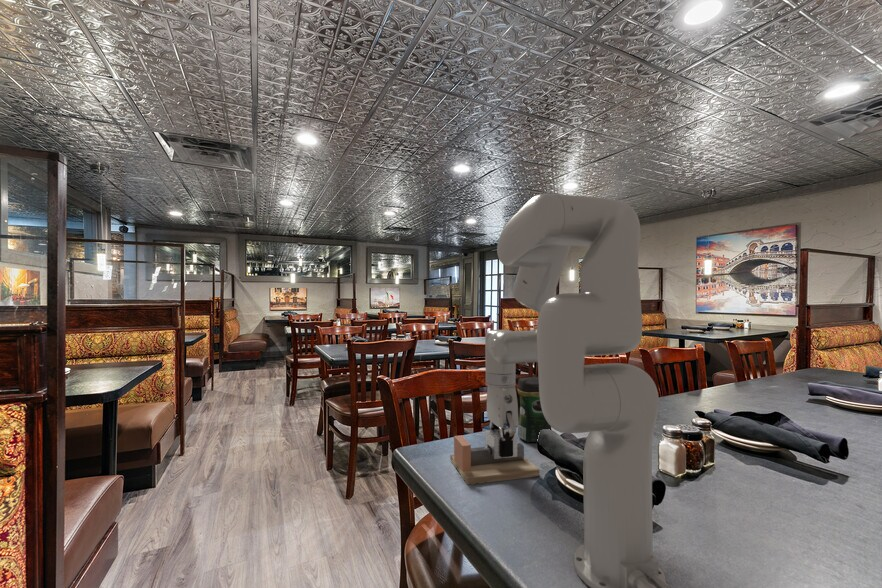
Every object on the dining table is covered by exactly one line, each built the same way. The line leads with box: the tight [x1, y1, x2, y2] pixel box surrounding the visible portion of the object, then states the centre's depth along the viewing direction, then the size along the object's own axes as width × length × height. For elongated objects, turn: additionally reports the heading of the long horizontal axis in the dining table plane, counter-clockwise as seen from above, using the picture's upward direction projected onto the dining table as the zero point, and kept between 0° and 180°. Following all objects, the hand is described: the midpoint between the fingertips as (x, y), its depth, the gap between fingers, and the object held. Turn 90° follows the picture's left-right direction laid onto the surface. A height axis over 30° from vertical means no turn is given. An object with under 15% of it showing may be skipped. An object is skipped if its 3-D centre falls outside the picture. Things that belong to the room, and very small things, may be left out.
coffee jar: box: [517, 376, 552, 443], centre depth 117 cm, size 10×8×19 cm
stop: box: [453, 435, 472, 472], centre depth 94 cm, size 7×2×6 cm, turn 14°
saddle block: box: [484, 429, 518, 459], centre depth 97 cm, size 6×6×5 cm
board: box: [449, 454, 540, 486], centre depth 96 cm, size 14×18×2 cm
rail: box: [471, 442, 525, 466], centre depth 96 cm, size 2×15×4 cm, turn 105°
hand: (501, 450), depth 97 cm, fingers closed on saddle block, 6 cm apart
